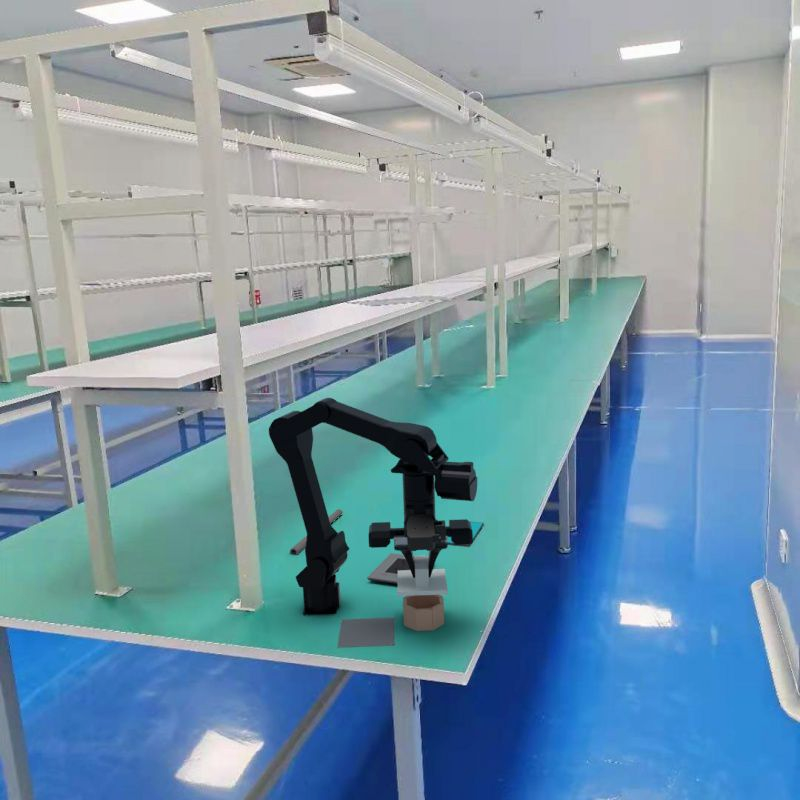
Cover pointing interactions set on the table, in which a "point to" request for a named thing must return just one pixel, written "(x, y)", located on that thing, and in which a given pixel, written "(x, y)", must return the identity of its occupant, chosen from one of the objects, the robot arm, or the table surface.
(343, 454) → the table surface
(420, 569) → the lid
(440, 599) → the bowl
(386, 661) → the table surface
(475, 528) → the smartphone
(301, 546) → the metal rod
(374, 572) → the electrical outlet
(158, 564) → the table surface
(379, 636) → the mat
